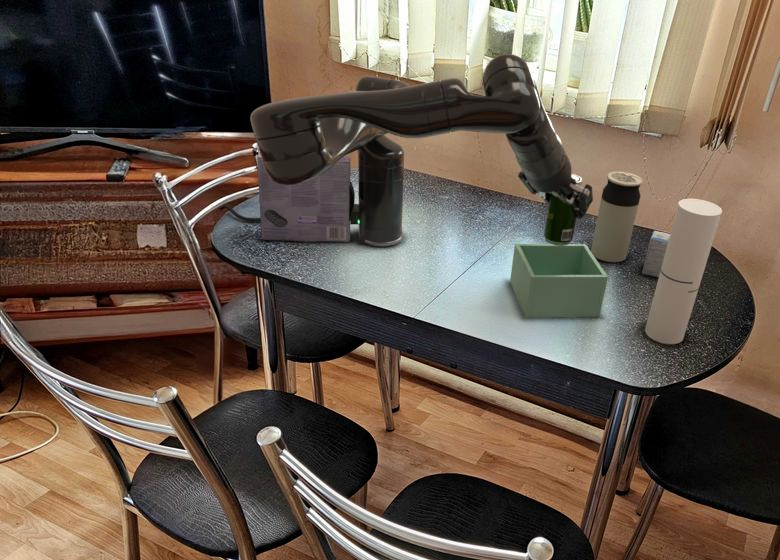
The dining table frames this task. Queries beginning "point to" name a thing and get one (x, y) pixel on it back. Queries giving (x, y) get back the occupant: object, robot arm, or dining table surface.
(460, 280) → the dining table surface
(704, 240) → the cylindrical container
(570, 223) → the beer can
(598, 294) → the bin
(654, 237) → the medicine box
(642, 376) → the dining table surface
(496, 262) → the dining table surface
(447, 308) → the dining table surface
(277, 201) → the cake pan box
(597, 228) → the travel mug
